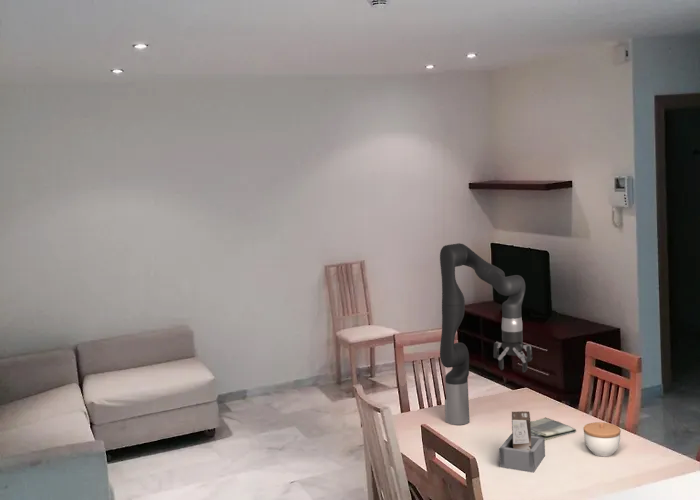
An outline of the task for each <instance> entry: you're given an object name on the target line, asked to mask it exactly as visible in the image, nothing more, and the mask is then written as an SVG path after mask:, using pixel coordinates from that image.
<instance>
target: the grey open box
mask: <svg viewBox="0 0 700 500" xmlns="http://www.w3.org/2000/svg"><path fill="white" fill-rule="evenodd" d="M545 441H546V440H545V438H544V437H536V436H531V450H530V451H528V450H521V449H514V448H513V436H512V433H511V434H509V436H508V437H507V439H505V441H504V442H503V443H502V444H501V445H500V447H498V448H499V452H498V454H499V468H503V469H509V470H516V471H521V472H527V473H536V470H537V469H538V467H539V466H540V464H541V463H542V462H543V460H544V459H545V457H546V445H545Z"/></svg>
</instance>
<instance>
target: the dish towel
mask: <svg viewBox="0 0 700 500" xmlns="http://www.w3.org/2000/svg"><path fill="white" fill-rule="evenodd" d="M530 423H531V436H536V437H544V438H545V441H548V440H552V439H556V438H558V437H563V436H567V435H570V434H575V433H576V432H577V429H576V428H574V427H573V426H570V425H568V424H564V423H562V422H560V421H556V420H554V419H551V418H548V417H542V418H539V419H536V420H530Z"/></svg>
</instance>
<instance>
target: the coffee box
mask: <svg viewBox="0 0 700 500" xmlns="http://www.w3.org/2000/svg"><path fill="white" fill-rule="evenodd" d="M530 421H531V414H530V411H527V410H526V411H523V410H522V411H511V431H512V433H511V434H512V436H513V448H514V449H521V450H528V451H530V450H531V423H530Z"/></svg>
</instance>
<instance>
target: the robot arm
mask: <svg viewBox="0 0 700 500" xmlns="http://www.w3.org/2000/svg"><path fill="white" fill-rule="evenodd" d="M439 263H440V275H441V336H440V344H439V345H440V347H439V358H440V362H441V364H442V366H443V367H444V368H447V369H448V368H451V369H450V371H448V372H447V373H446V374H445V378H444V379H445V380H444V381H445V398H446V399H444V414H445V415H444V416H445V423H448V424H450V425H454V426H461V425H463V426H464V425H467V424H468V423H470V420H471V419H470V404H469V403H470V402H469V401H470V400H469V381H468V380H469V379H468V378H469V374H470V353H469V350H468V347H467V346H466V344H465V343H463V342H455V338H456V337H455V336H456V334H457V331H458V330H459V327H460V325H461V323H462V321H463V319H464V317H465V311H466V309H465V305H466V303H465V301H466V300H465V296H464V294H463V292H462V290H461V288H460V286H459V284H458V283H457V280H456V267H461V266H465V267H469V268H471V269H472V270H474V273H475V275H476V276H477V277H478V278H479V279H480V280H481V281H484V282H485V283H487V284H489V285H490V286H491V287H492V288H493V289H494V290H495V291H496V292H497V293H498V294H499V295H502V296H505V297H507V296H508V298H507V300H504V301H503V302H502V304H501V308H502V309H501V310H502V311H501V314H502V315H501V316H502V318H501V341H502V342H499V341H497V340H496V342H494V343H493V358H494V359H496V360H498V369H499V370H500V371H503V370H504V369H505V365H504V364H505V363H504V362H505V361H504V358H505V356H506V355H508V356H512V357H513V356H514V357H516V356H517V357H518V358H519V359H520V360H521V362H522V364H521V365H522V366H521V368H522V369H521V370H522V373H526V372H527V371H528V362H529V363H530V362H532V361H533V350H532V344H530V343H529V344H528V345H527V344H524V342H523V340H524V339H523V320H522V315H523V314H522V307H523V306H522V305H523V302H524V297H525V294H526V282H525V279H524V278H523V277H522V275H519V274H514V275H509V276H506V274H505V272H504V271H503V270H502V269H501V268H499V267H497V266H496V265H494V264H492V263H490V262H488V261H486V260H485V259H483V258H482V256H480V255H478V254H477V253H476V252H474V251H473V250H472V249H471V248H470V247H468V246H467V245H465V244H464V243H460V242H459V243H450V244H446V245H443V246H442V247H441V249H440V254H439ZM500 348H502V350H503V351H502V352H501V354H500V353H499V352H500ZM523 350H524V351H525V352H526V355H525V353H524V351H523Z"/></svg>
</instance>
